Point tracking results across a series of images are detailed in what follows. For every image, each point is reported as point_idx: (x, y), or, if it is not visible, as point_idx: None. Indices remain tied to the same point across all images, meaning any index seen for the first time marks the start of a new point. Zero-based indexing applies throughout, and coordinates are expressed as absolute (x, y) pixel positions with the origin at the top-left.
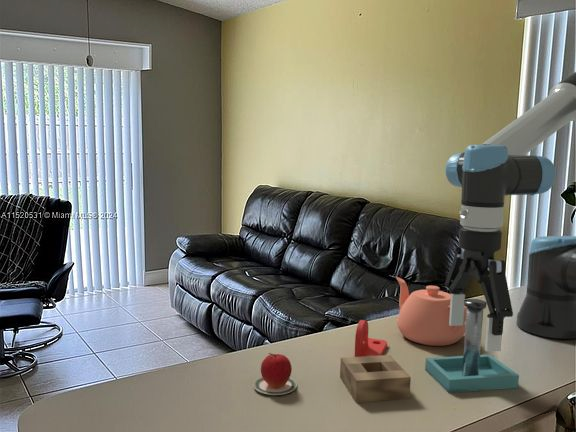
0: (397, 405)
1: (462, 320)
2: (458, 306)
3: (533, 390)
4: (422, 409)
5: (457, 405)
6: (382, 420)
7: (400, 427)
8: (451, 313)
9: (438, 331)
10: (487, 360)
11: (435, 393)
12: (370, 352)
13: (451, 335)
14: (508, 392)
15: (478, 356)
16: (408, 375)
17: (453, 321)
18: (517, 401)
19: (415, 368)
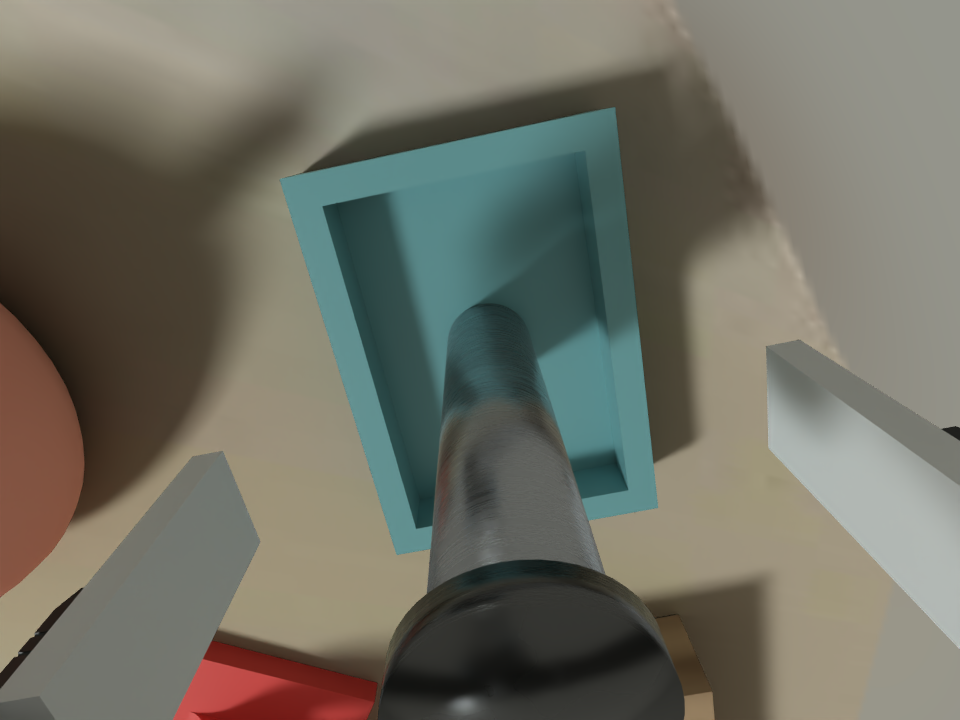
0: (726, 655)
1: (206, 481)
2: (160, 622)
3: (628, 21)
4: (765, 587)
5: (751, 464)
6: (819, 704)
7: (871, 665)
8: (220, 622)
9: (39, 461)
10: (329, 205)
11: (640, 520)
12: (283, 712)
13: (16, 359)
14: (646, 189)
15: (535, 364)
16: (695, 696)
17: (241, 549)
18: (746, 180)
19: (389, 549)
